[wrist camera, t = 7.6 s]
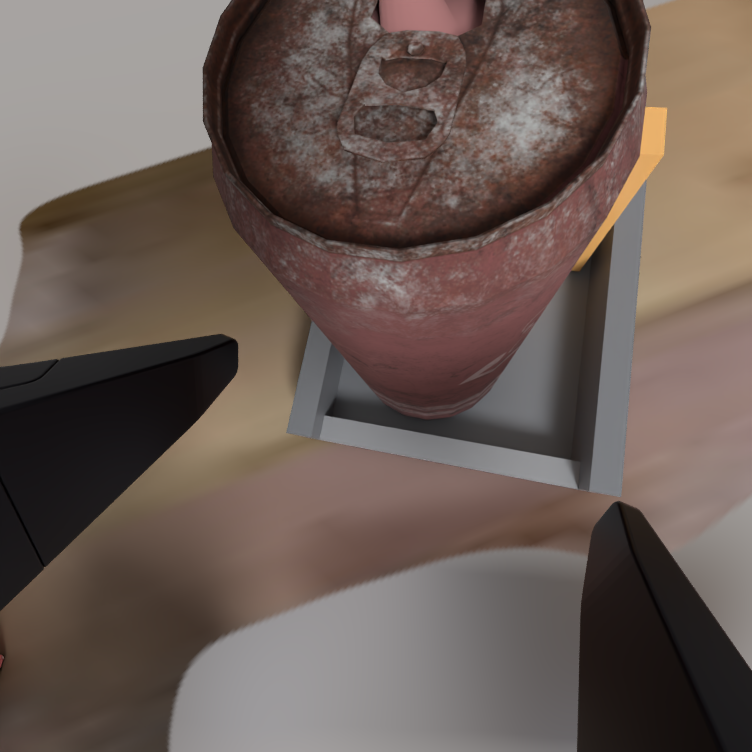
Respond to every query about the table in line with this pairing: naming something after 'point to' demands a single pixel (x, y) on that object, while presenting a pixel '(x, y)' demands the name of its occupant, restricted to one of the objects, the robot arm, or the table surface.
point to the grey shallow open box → (513, 387)
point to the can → (424, 168)
